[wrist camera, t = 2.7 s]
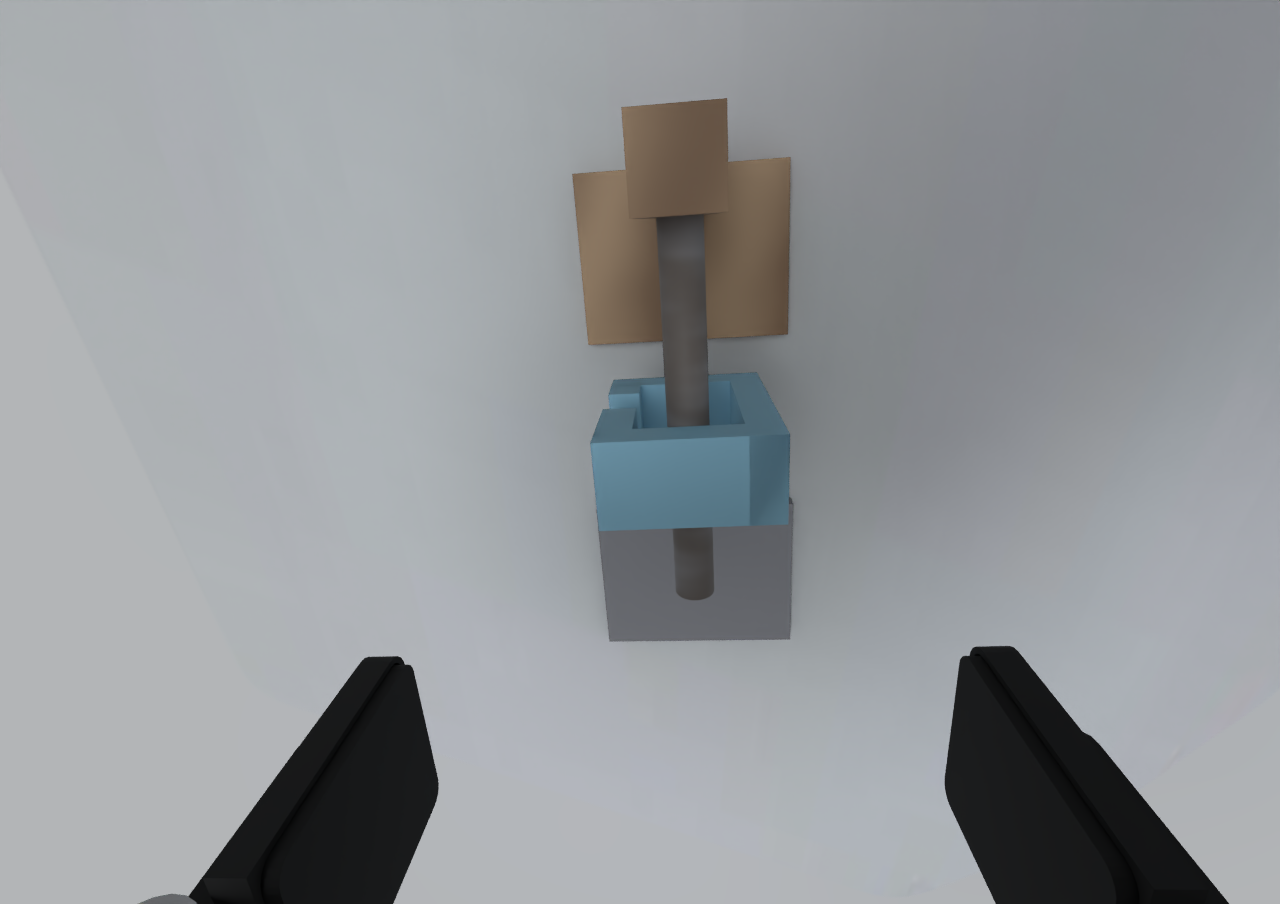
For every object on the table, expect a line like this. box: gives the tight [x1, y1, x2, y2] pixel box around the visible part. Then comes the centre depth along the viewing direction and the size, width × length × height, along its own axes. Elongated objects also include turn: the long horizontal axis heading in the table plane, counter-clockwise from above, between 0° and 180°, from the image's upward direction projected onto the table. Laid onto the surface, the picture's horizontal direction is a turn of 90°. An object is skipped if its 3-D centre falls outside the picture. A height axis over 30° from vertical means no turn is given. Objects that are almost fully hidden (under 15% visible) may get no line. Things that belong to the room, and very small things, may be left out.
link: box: [590, 372, 790, 531], centre depth 23 cm, size 6×3×8 cm, turn 94°
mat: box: [597, 498, 793, 641], centre depth 37 cm, size 11×9×1 cm
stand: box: [572, 98, 790, 600], centre depth 25 cm, size 10×15×17 cm, turn 4°
